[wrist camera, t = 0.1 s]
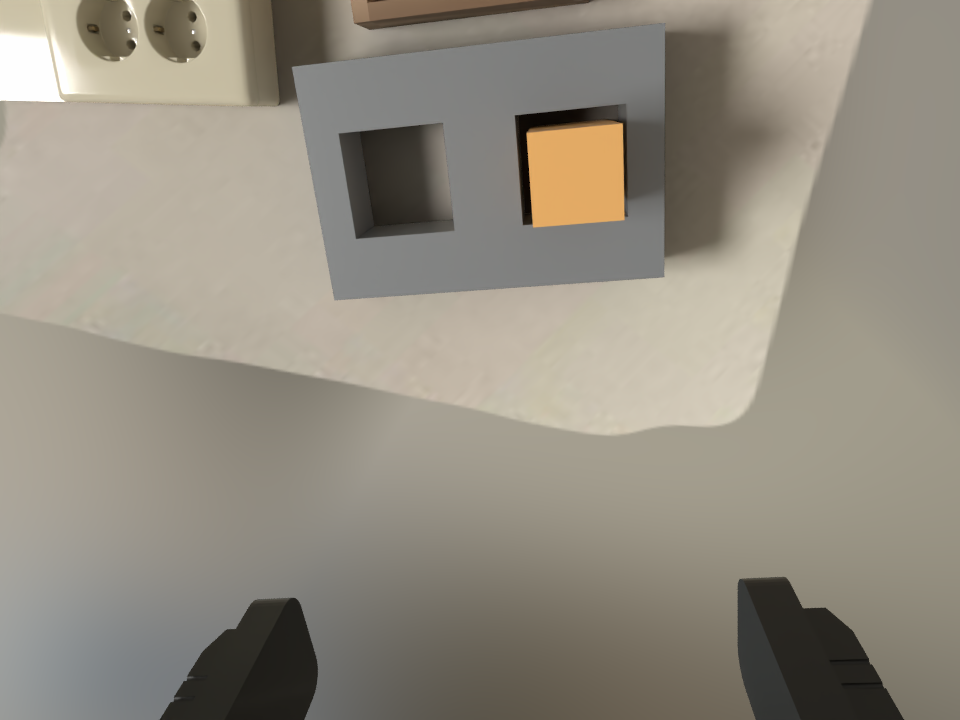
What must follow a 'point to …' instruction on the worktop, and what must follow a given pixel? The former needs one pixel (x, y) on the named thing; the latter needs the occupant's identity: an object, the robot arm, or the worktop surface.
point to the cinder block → (486, 162)
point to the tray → (438, 10)
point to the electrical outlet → (139, 52)
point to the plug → (576, 172)
